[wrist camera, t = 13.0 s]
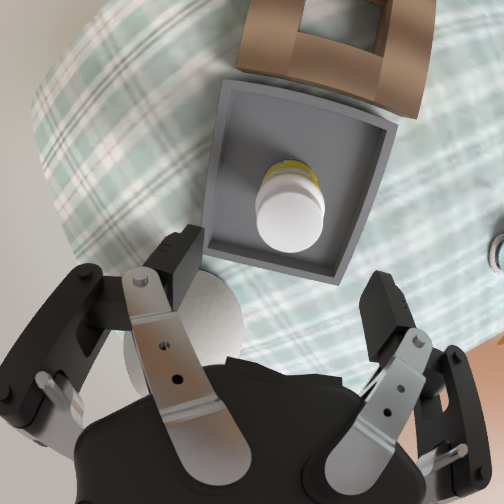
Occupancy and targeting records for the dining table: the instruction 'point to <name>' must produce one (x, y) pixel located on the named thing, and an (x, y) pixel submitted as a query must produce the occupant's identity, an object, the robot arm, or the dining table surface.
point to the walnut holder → (344, 53)
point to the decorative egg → (200, 326)
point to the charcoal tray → (297, 147)
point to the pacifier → (502, 256)
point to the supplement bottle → (289, 206)
